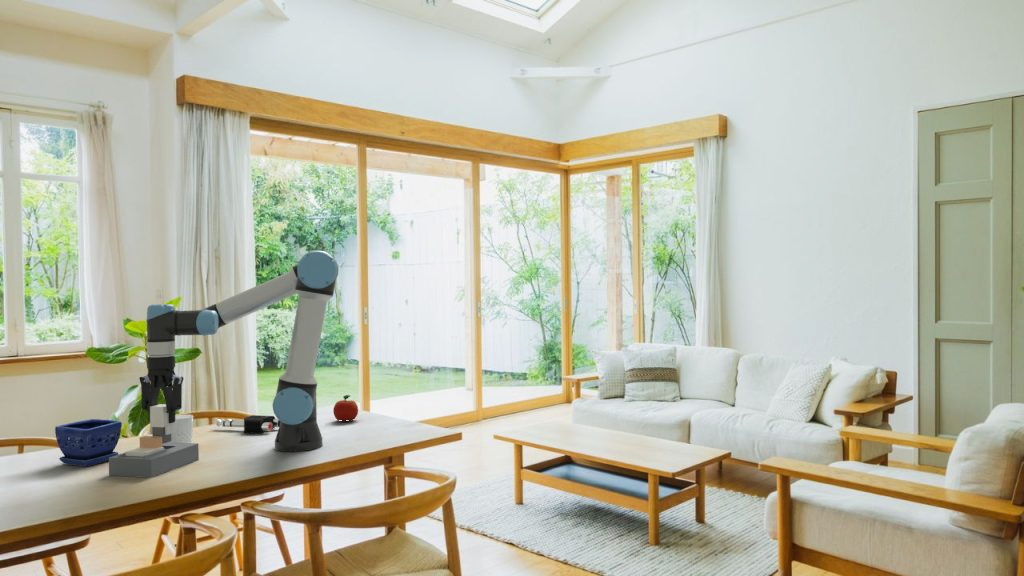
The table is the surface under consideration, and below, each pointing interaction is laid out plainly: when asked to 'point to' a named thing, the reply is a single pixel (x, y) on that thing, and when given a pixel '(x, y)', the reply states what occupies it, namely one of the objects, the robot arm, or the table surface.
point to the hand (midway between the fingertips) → (161, 433)
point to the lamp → (252, 423)
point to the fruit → (345, 409)
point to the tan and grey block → (146, 446)
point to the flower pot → (88, 441)
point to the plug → (159, 422)
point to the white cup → (182, 429)
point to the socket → (154, 460)
